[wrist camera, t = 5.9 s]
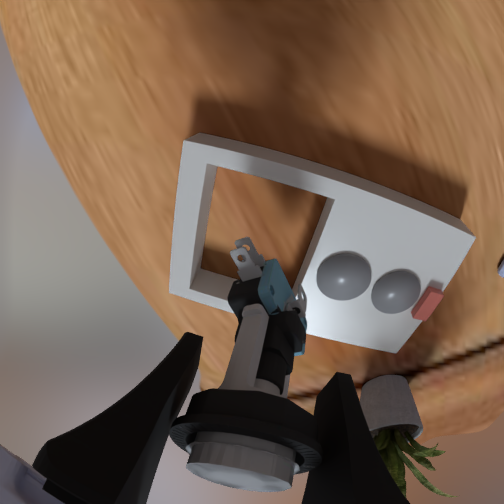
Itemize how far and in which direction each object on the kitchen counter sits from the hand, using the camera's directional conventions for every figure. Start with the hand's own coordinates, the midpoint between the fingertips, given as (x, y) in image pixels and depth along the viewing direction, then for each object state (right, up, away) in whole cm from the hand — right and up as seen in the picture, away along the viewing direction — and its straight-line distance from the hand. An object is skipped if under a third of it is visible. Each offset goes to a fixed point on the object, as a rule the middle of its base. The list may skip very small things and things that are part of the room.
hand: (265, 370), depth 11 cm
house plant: (+12, -10, +16) cm, 22 cm away
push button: (+1, +3, +5) cm, 6 cm away
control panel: (+4, +5, +9) cm, 11 cm away
